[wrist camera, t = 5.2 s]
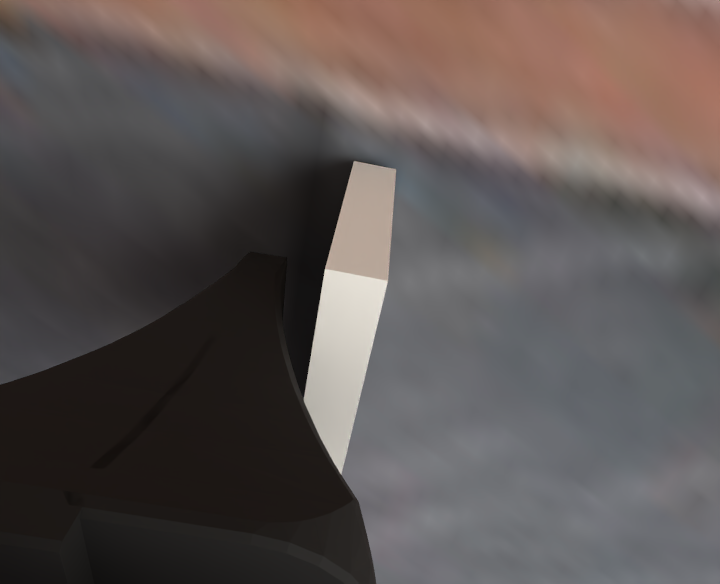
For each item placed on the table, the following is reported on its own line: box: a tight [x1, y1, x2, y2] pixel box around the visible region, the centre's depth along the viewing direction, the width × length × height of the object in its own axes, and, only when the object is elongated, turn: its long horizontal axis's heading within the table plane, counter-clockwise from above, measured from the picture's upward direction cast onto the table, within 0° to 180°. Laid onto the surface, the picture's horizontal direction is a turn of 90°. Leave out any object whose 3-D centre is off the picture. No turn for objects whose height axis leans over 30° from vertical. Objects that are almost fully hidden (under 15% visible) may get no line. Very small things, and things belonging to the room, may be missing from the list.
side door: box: [304, 161, 396, 474], centre depth 11 cm, size 1×8×4 cm, turn 170°
